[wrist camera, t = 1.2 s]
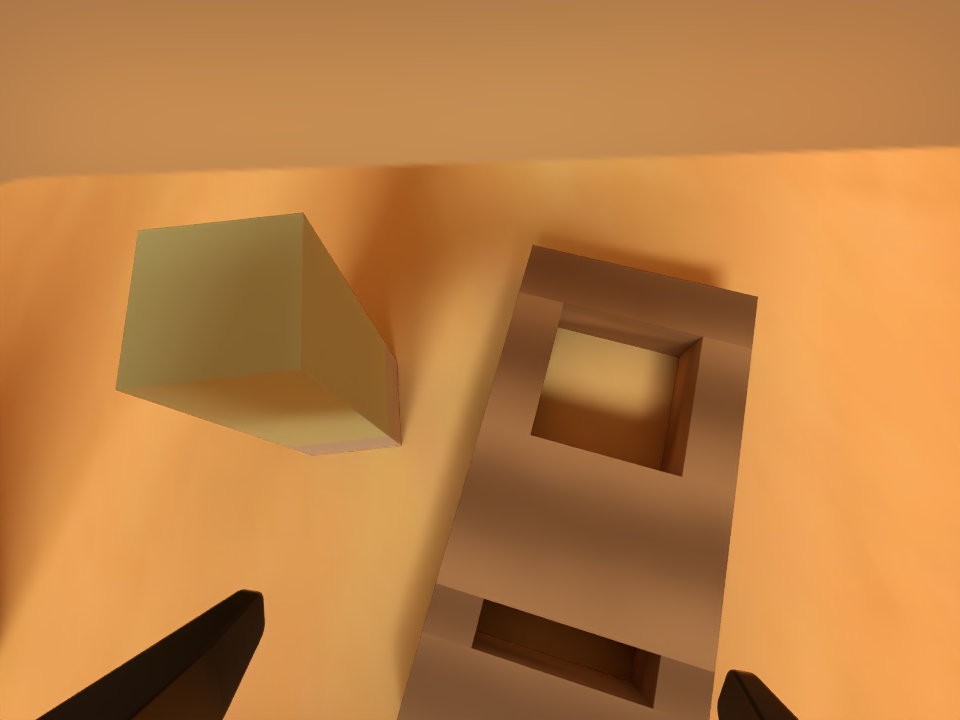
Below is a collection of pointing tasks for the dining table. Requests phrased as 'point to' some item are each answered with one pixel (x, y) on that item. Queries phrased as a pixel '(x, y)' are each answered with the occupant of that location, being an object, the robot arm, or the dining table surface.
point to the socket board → (594, 513)
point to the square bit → (258, 336)
